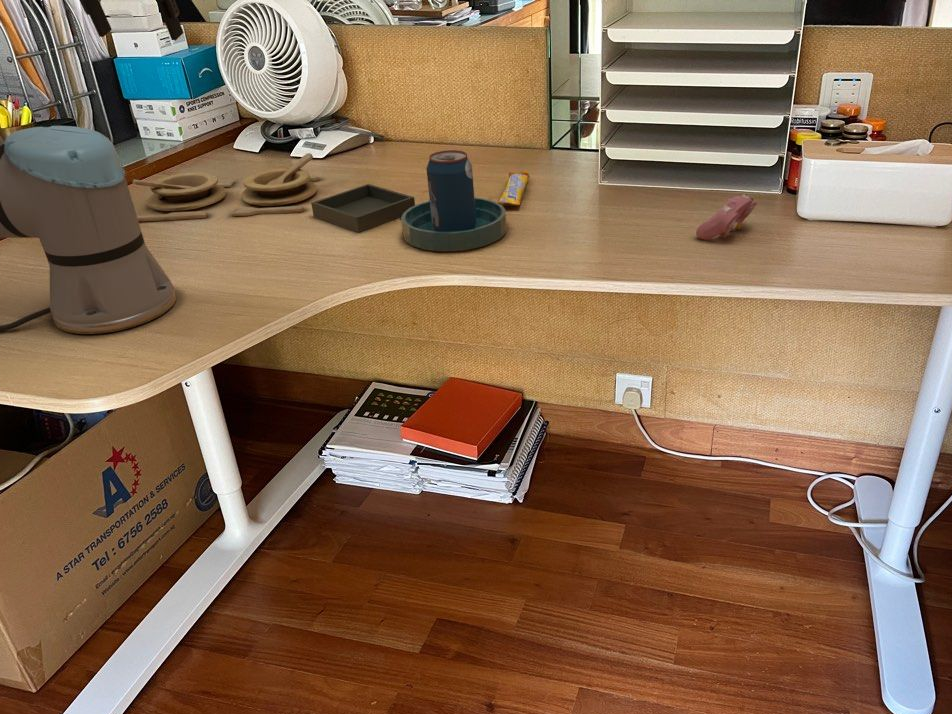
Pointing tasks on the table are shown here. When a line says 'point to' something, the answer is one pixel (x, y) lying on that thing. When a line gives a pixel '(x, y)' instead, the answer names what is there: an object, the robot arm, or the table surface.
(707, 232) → the mauve toy shoe
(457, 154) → the soda can
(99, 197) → the robot arm
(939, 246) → the table surface
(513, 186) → the candy bar
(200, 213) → the tableware set
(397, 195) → the tray
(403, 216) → the teal round dish
